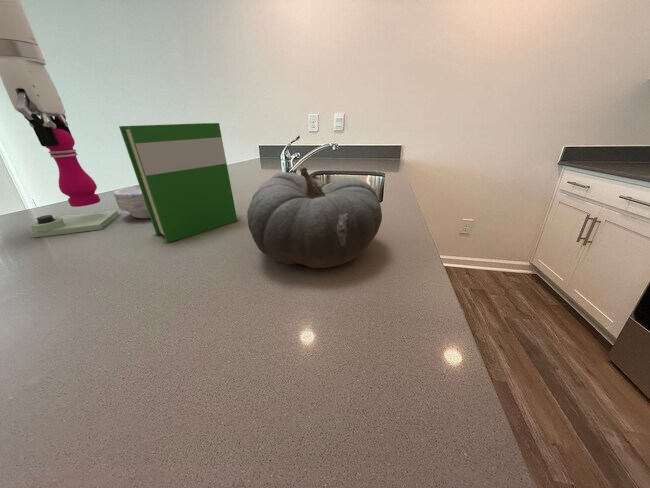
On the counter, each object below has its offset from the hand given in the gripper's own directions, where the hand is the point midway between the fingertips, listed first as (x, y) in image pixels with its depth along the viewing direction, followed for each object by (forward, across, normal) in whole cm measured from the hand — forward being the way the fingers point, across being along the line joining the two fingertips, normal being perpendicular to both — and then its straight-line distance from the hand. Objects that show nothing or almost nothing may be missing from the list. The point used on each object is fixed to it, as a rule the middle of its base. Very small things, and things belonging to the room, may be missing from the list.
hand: (59, 144), depth 63 cm
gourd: (+20, +38, +54) cm, 69 cm away
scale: (+20, +2, -2) cm, 20 cm away
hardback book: (+20, +16, +28) cm, 38 cm away
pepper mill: (+15, 0, 0) cm, 15 cm away
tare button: (+18, +5, -7) cm, 20 cm away
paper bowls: (+20, -2, +14) cm, 25 cm away
